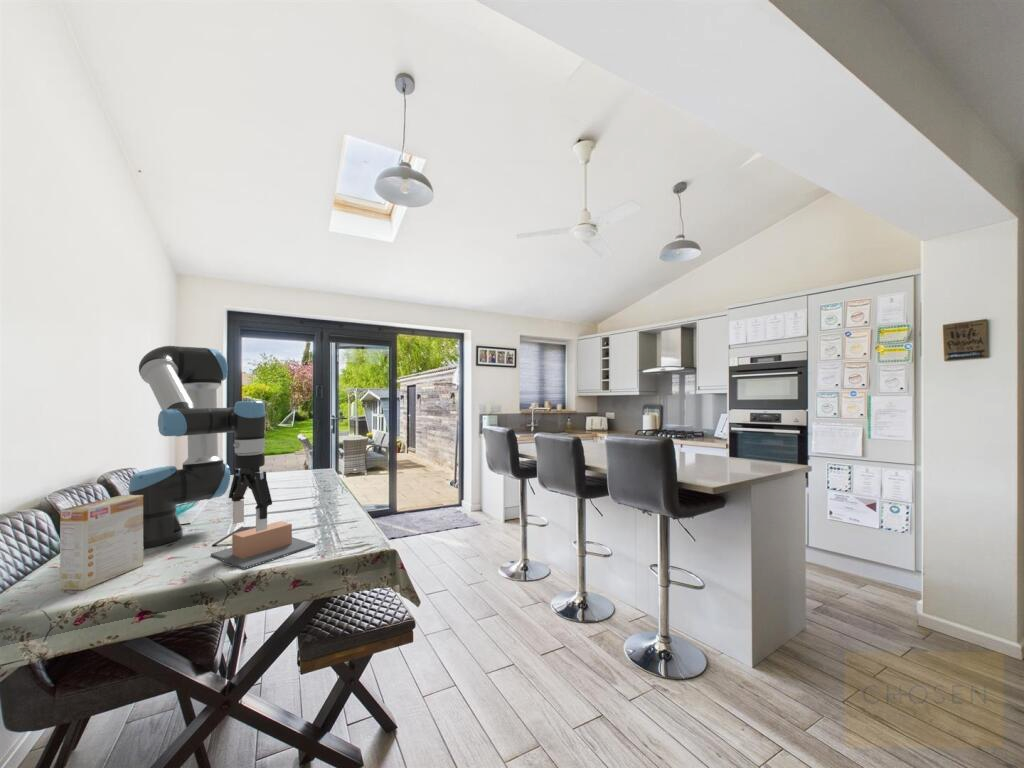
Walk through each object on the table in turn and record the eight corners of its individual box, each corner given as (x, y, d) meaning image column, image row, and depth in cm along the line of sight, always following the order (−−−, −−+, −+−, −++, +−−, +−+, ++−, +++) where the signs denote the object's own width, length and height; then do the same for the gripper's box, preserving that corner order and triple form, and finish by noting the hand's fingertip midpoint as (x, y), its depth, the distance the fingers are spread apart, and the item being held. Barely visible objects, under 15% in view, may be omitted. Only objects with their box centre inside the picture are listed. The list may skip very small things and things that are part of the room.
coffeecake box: (121, 565, 115) (122, 494, 116) (144, 565, 115) (145, 494, 115) (57, 589, 100) (58, 508, 101) (83, 590, 100) (84, 508, 100)
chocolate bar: (268, 525, 148) (243, 542, 130) (268, 528, 148) (243, 545, 130) (240, 527, 146) (211, 544, 128) (240, 530, 146) (211, 548, 128)
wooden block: (232, 533, 119) (281, 521, 131) (232, 555, 119) (281, 540, 131) (242, 537, 116) (291, 523, 128) (242, 558, 116) (291, 543, 128)
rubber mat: (210, 555, 121) (210, 553, 121) (280, 535, 138) (280, 533, 138) (244, 569, 110) (244, 567, 110) (315, 545, 127) (315, 543, 127)
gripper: (215, 452, 125) (215, 523, 124) (257, 458, 112) (257, 537, 111) (242, 449, 131) (242, 516, 131) (285, 454, 118) (285, 529, 117)
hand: (249, 526), depth 121 cm, fingers open, 13 cm apart
